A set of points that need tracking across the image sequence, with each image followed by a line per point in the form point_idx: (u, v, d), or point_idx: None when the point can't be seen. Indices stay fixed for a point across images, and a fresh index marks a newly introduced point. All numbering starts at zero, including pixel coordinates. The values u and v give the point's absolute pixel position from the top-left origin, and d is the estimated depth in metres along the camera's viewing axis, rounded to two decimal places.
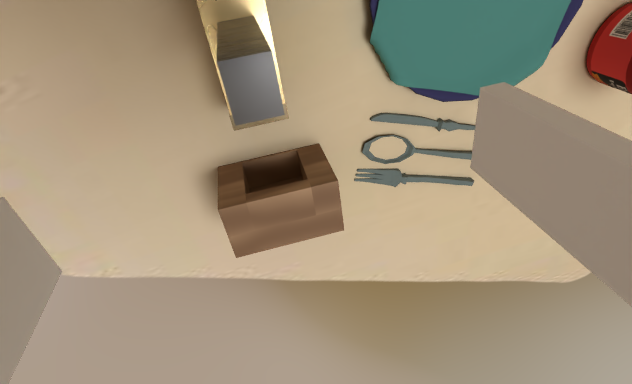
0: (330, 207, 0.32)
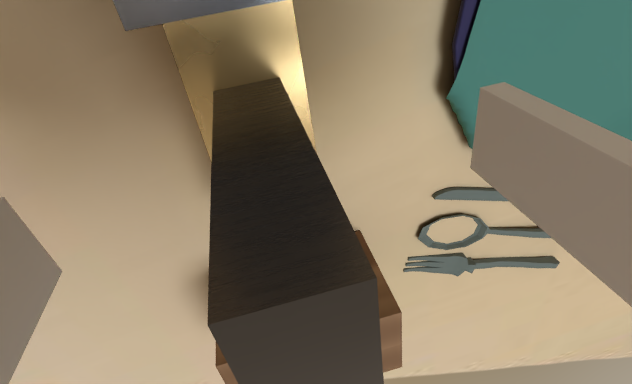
0: (386, 344, 0.21)
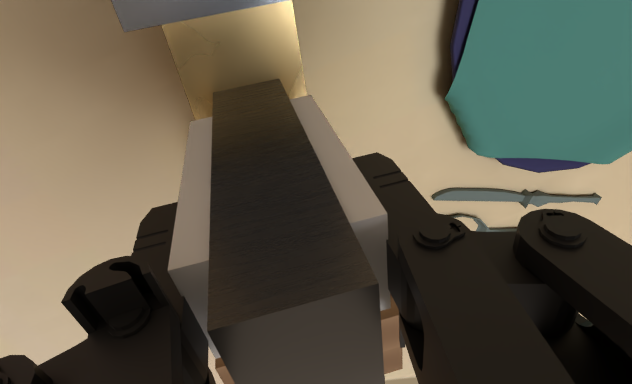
0: (386, 346, 0.21)
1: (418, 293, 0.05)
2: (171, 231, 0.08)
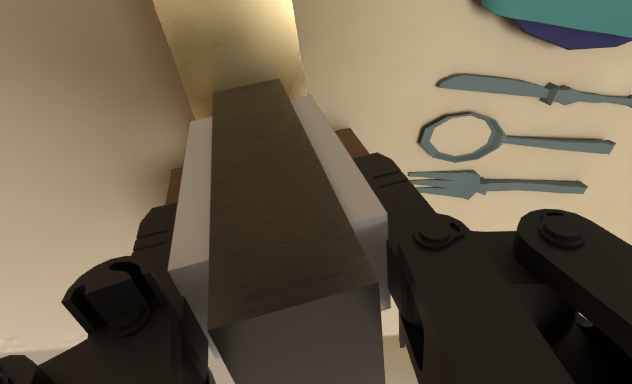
0: None
1: (418, 293, 0.05)
2: (171, 231, 0.08)
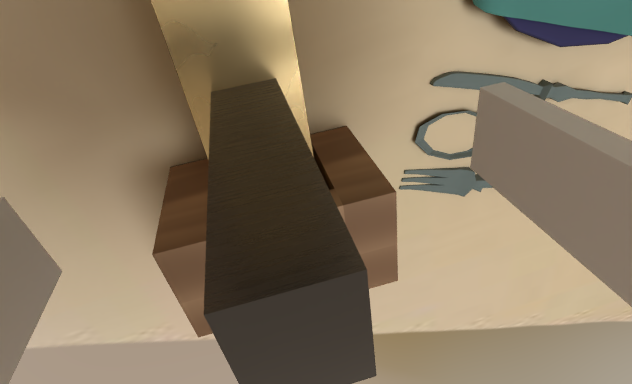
0: (377, 242, 0.17)
1: None
2: None
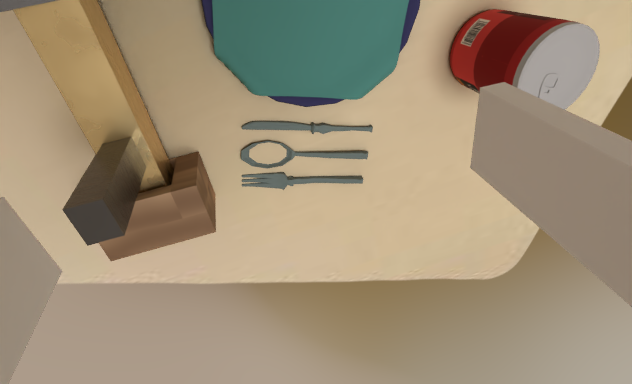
0: (195, 210, 0.34)
1: None
2: None
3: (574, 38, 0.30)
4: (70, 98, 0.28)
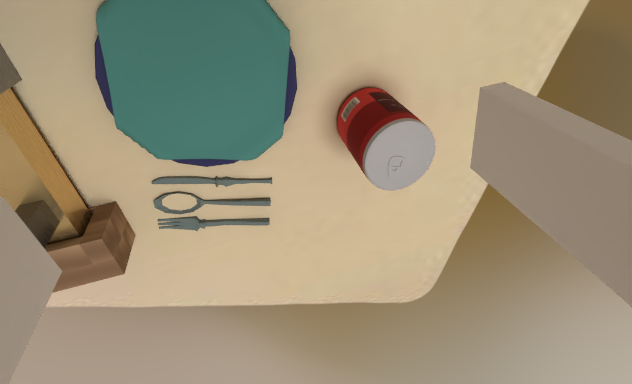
0: (103, 258, 0.40)
1: None
2: None
3: (410, 130, 0.36)
4: None
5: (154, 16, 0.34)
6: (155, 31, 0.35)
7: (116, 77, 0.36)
